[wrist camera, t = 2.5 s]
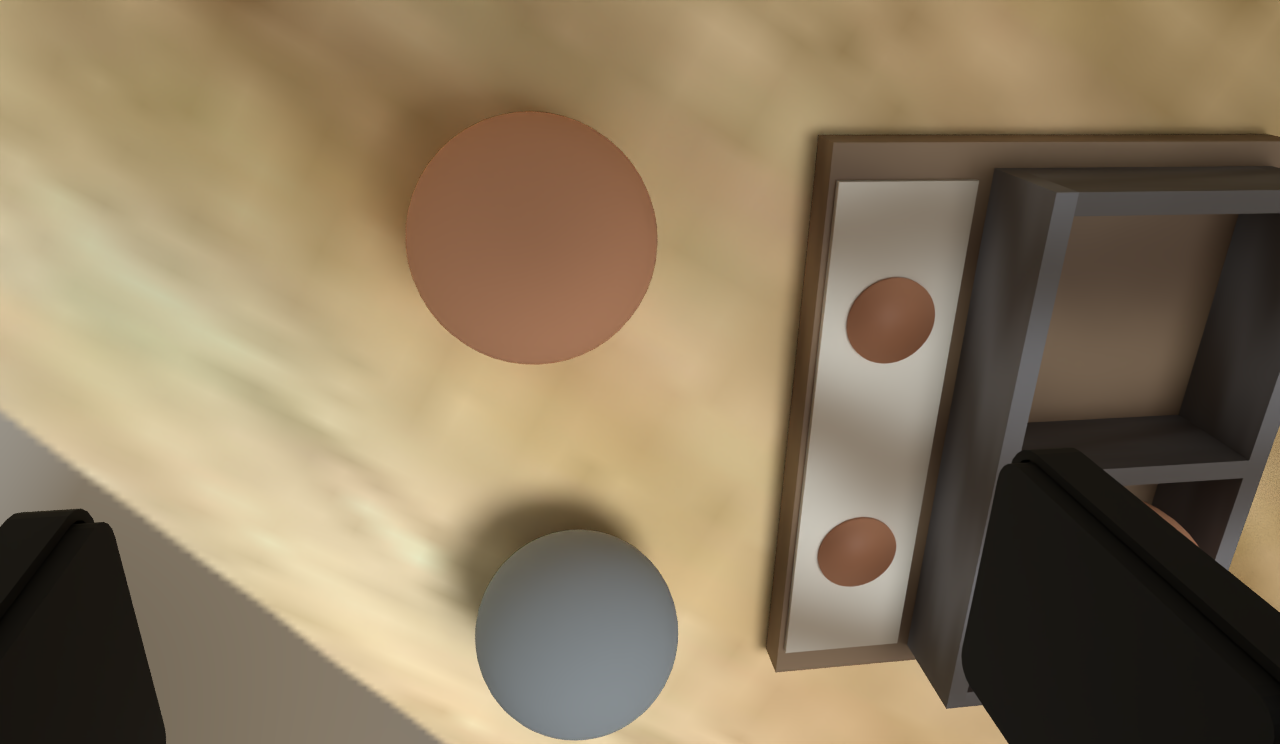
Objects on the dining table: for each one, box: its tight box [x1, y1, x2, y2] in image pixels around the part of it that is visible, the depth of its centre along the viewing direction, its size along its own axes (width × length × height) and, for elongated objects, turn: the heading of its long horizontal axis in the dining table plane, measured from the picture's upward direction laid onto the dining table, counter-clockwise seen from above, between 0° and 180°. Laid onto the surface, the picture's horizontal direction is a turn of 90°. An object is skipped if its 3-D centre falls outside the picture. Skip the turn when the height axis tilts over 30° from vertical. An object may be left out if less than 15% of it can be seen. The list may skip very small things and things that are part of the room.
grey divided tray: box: [766, 134, 1280, 709], centre depth 27 cm, size 18×14×4 cm
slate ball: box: [475, 530, 678, 740], centre depth 27 cm, size 6×6×6 cm
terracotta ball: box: [406, 111, 657, 364], centre depth 22 cm, size 6×6×6 cm
